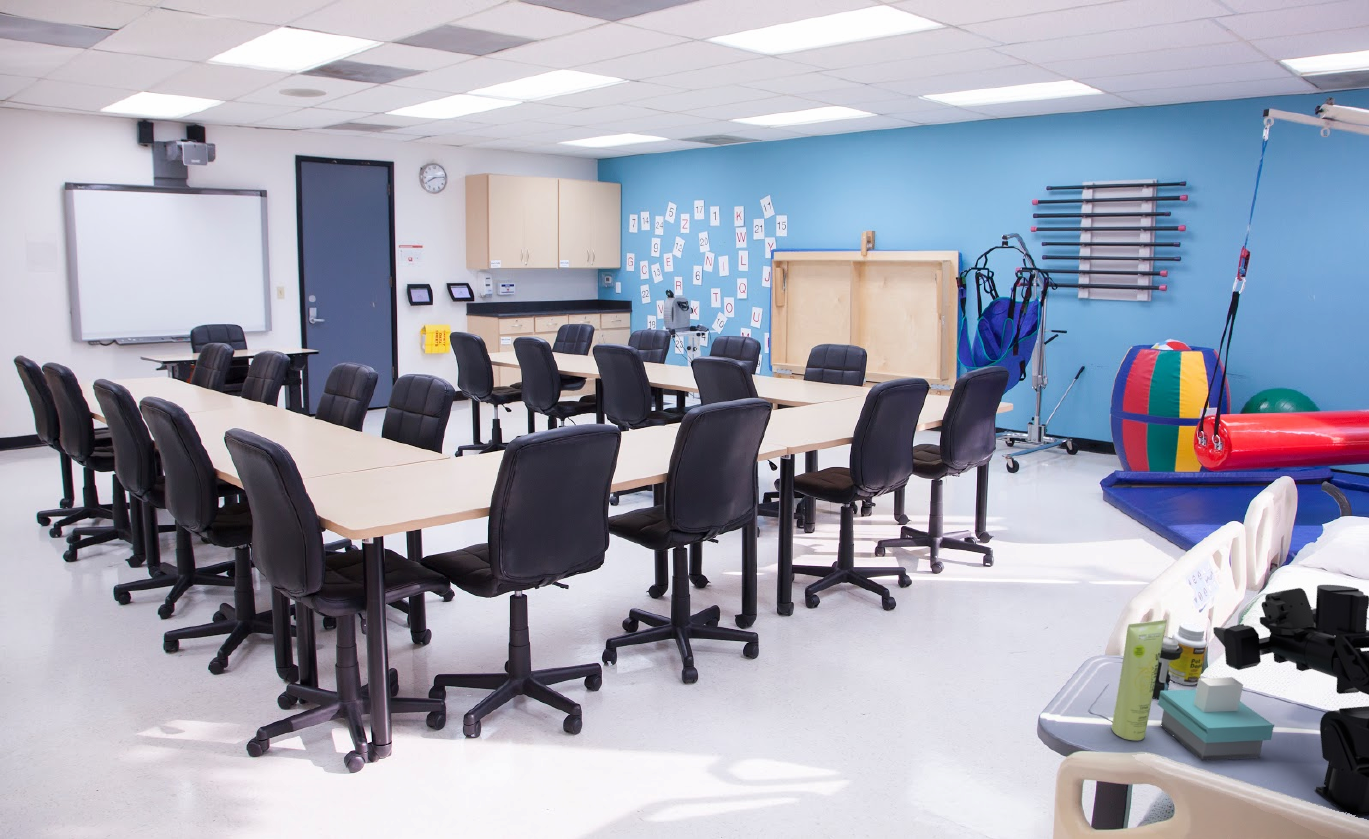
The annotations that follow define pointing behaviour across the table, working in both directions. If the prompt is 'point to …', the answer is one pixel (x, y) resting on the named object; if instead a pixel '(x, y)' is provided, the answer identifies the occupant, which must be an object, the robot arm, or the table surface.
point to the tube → (1138, 678)
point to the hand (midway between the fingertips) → (1237, 624)
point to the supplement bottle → (1188, 654)
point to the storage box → (1210, 749)
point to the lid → (1216, 712)
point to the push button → (1166, 664)
